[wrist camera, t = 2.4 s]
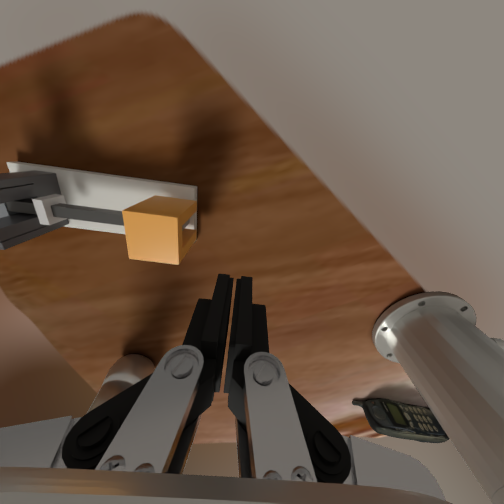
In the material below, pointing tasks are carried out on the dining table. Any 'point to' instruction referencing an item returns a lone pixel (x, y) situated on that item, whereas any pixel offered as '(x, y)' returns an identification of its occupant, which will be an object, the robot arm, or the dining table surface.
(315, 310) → the dining table surface
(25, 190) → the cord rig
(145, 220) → the orange bracket
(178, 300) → the dining table surface
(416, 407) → the mobile phone
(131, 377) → the plastic bottle
